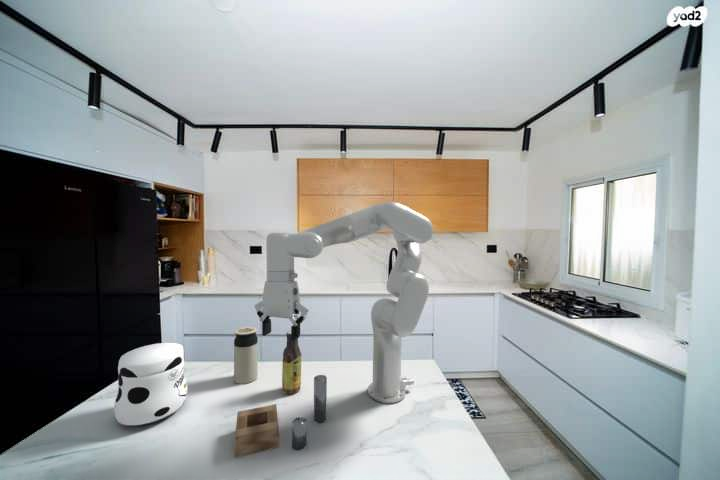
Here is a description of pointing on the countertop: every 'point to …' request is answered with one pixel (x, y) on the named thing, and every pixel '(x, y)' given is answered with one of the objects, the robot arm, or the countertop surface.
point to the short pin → (299, 433)
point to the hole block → (256, 430)
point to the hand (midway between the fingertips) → (280, 336)
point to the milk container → (150, 384)
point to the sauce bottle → (291, 366)
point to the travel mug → (245, 355)
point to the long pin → (320, 398)
